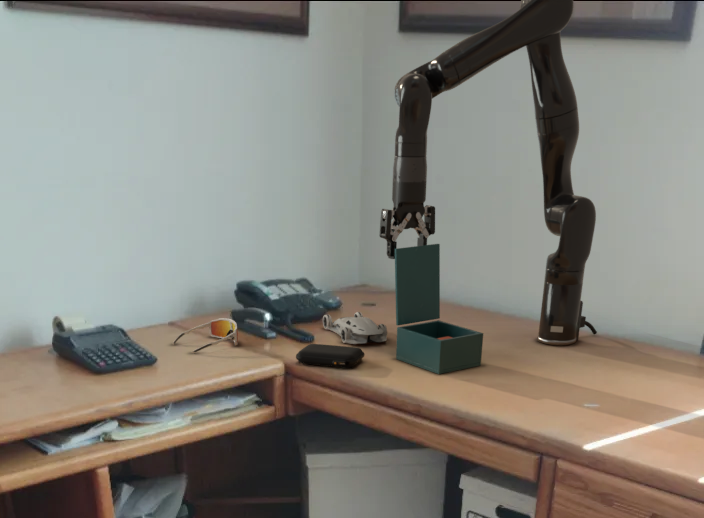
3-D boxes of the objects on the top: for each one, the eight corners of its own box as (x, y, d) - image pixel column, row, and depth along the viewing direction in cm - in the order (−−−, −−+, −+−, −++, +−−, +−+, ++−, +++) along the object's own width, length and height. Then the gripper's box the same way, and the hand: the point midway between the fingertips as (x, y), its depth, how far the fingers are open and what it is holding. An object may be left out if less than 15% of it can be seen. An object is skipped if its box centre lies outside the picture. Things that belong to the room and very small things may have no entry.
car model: (359, 323, 250) (359, 304, 248) (395, 345, 231) (395, 324, 228) (320, 327, 247) (319, 307, 244) (353, 349, 228) (353, 328, 225)
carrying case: (291, 365, 215) (352, 371, 211) (291, 352, 213) (352, 357, 209) (307, 354, 224) (366, 359, 220) (307, 341, 222) (366, 346, 218)
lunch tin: (480, 365, 216) (483, 333, 212) (438, 374, 209) (440, 341, 206) (437, 351, 226) (438, 320, 223) (396, 359, 220) (396, 327, 216)
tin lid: (439, 243, 215) (424, 242, 219) (396, 248, 208) (381, 247, 212) (439, 318, 222) (425, 316, 226) (397, 325, 216) (384, 323, 220)
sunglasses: (250, 344, 231) (247, 324, 228) (198, 363, 224) (193, 342, 221) (221, 333, 240) (217, 314, 237) (169, 351, 234) (165, 331, 231)
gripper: (394, 182, 201) (392, 262, 210) (445, 178, 208) (440, 256, 217) (373, 179, 207) (372, 257, 215) (423, 175, 214) (420, 251, 222)
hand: (406, 256), depth 216 cm, fingers open, 8 cm apart
